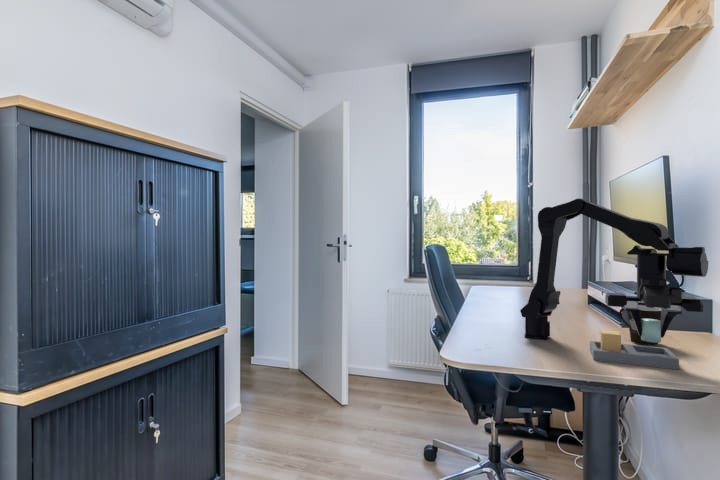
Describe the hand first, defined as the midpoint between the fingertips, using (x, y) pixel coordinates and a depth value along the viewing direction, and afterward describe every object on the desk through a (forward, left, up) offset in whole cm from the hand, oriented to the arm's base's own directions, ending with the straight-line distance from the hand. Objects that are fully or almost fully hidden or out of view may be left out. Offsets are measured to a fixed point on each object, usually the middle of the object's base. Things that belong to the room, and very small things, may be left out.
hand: (650, 336), depth 96 cm
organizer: (-4, 0, -6) cm, 7 cm away
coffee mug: (+2, +21, -6) cm, 22 cm away
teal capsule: (0, 0, -1) cm, 1 cm away
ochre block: (-8, 0, -5) cm, 10 cm away
